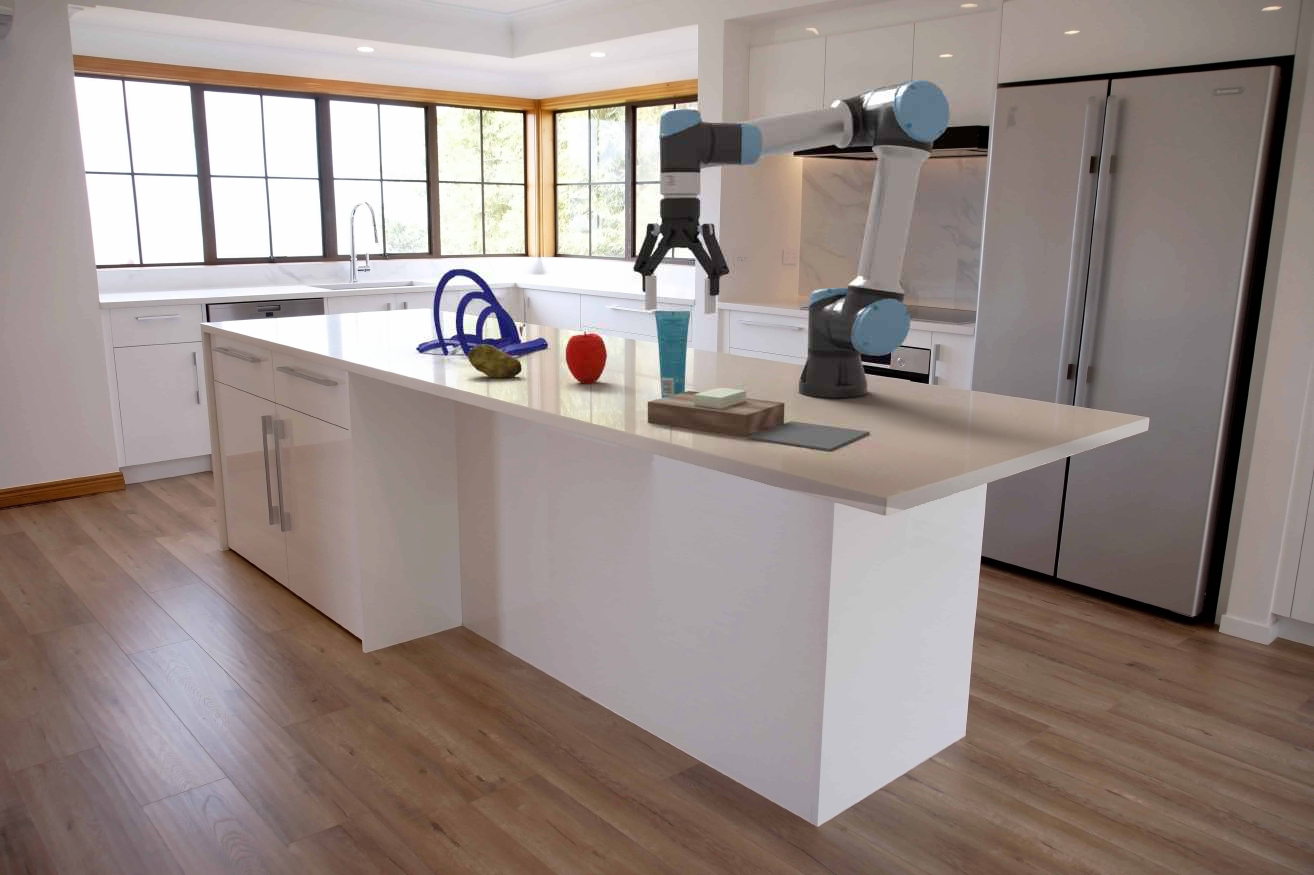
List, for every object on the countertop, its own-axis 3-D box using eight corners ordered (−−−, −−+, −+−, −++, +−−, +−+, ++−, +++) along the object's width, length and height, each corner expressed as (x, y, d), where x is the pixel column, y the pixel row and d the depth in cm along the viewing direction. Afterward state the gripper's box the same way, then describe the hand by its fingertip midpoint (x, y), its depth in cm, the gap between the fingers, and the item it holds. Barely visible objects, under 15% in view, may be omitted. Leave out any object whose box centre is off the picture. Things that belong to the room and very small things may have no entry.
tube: (689, 398, 209) (689, 309, 205) (690, 402, 204) (690, 311, 200) (655, 398, 209) (655, 309, 205) (655, 402, 204) (654, 311, 200)
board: (688, 410, 196) (688, 390, 195) (784, 423, 183) (784, 402, 182) (647, 422, 185) (647, 401, 184) (746, 436, 172) (746, 415, 171)
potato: (503, 381, 231) (502, 348, 229) (463, 377, 238) (462, 345, 236) (525, 376, 238) (524, 344, 236) (486, 372, 245) (484, 341, 243)
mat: (791, 423, 184) (791, 421, 183) (869, 433, 174) (869, 431, 174) (747, 438, 171) (747, 436, 171) (829, 451, 162) (829, 448, 162)
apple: (584, 377, 236) (583, 327, 234) (616, 381, 231) (615, 330, 228) (557, 383, 228) (556, 331, 226) (589, 387, 223) (588, 334, 220)
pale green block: (719, 397, 188) (719, 387, 188) (746, 400, 185) (746, 390, 184) (693, 404, 181) (693, 394, 180) (720, 408, 177) (720, 397, 177)
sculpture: (504, 360, 261) (494, 264, 257) (399, 365, 274) (387, 274, 270) (563, 347, 293) (554, 261, 289) (466, 352, 306) (457, 270, 302)
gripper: (614, 197, 183) (616, 309, 188) (727, 195, 169) (725, 316, 174) (638, 198, 189) (639, 306, 194) (748, 196, 175) (746, 313, 180)
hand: (679, 311), depth 184 cm, fingers open, 13 cm apart
